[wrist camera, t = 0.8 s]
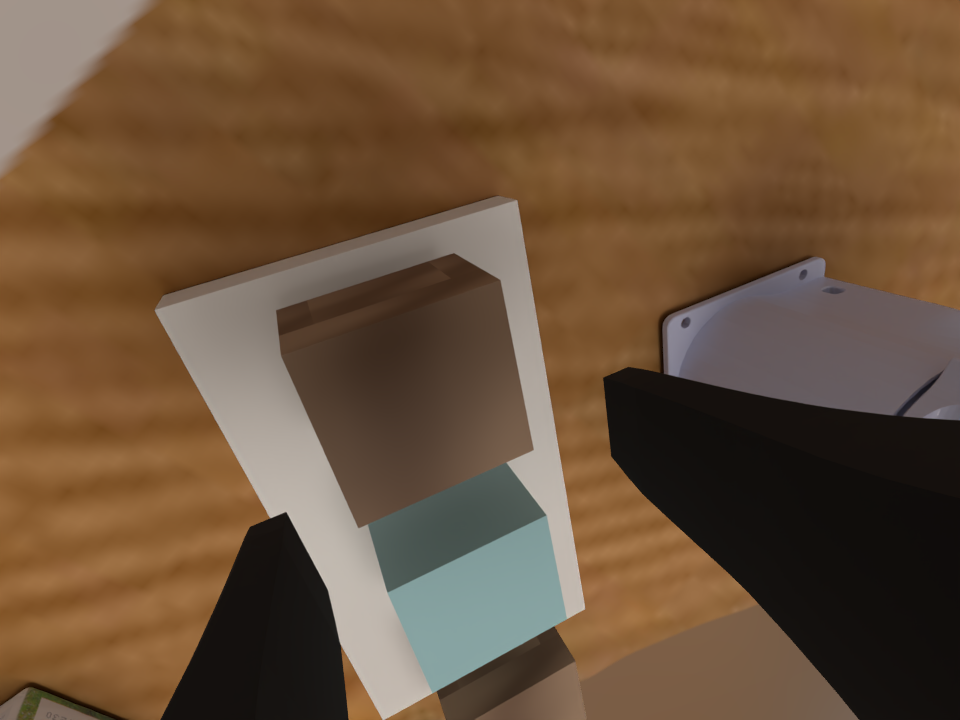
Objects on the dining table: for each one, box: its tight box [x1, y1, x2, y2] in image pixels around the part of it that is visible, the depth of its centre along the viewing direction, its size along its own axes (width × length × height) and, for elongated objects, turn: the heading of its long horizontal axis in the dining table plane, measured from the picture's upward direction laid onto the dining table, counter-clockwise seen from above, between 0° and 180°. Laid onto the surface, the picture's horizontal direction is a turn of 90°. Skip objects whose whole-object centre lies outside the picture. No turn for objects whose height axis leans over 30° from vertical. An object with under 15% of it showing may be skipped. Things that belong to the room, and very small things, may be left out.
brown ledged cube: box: [276, 253, 534, 528], centre depth 13 cm, size 5×5×3 cm
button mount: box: [155, 196, 585, 720], centre depth 20 cm, size 11×21×4 cm, turn 10°
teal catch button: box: [368, 463, 567, 693], centre depth 17 cm, size 5×5×3 cm
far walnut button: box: [437, 627, 587, 720], centre depth 20 cm, size 5×5×3 cm
